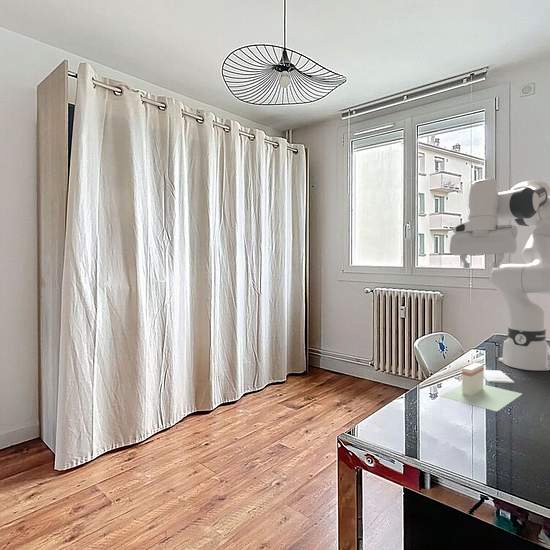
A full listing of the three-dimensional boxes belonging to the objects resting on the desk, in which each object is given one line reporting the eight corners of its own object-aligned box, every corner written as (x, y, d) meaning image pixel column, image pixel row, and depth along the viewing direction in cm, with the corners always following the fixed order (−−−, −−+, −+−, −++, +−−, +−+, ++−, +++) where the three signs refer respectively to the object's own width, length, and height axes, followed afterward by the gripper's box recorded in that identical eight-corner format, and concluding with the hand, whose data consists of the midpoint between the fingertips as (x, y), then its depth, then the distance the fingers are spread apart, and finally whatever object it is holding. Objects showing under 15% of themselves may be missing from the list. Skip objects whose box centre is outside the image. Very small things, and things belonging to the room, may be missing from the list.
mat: (469, 382, 132) (469, 381, 132) (522, 394, 120) (522, 393, 120) (440, 397, 119) (440, 395, 119) (497, 412, 107) (497, 411, 107)
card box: (474, 387, 127) (475, 362, 126) (483, 389, 124) (483, 364, 124) (461, 393, 121) (462, 368, 120) (470, 396, 119) (471, 370, 118)
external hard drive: (501, 375, 142) (515, 386, 129) (476, 373, 143) (488, 384, 131) (501, 370, 142) (515, 381, 129) (476, 369, 143) (488, 380, 131)
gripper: (520, 225, 126) (519, 268, 126) (456, 230, 141) (454, 268, 141) (513, 222, 122) (512, 267, 121) (448, 228, 137) (446, 267, 137)
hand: (481, 268), depth 131 cm, fingers open, 8 cm apart
